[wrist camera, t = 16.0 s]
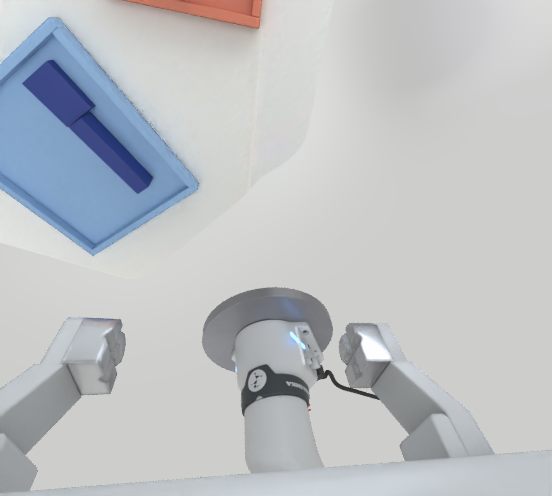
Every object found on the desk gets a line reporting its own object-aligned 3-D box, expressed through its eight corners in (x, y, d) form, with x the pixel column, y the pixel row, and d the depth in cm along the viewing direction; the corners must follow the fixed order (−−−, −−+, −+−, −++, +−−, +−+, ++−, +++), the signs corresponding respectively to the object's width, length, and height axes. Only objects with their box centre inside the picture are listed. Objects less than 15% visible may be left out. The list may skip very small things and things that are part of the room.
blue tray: (199, 183, 38) (197, 189, 36) (97, 248, 42) (92, 256, 41) (58, 17, 26) (48, 17, 25) (-61, 130, 31) (-74, 135, 30)
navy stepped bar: (28, 81, 29) (12, 86, 27) (53, 59, 28) (38, 62, 26) (137, 188, 37) (131, 198, 35) (159, 173, 36) (154, 183, 34)
